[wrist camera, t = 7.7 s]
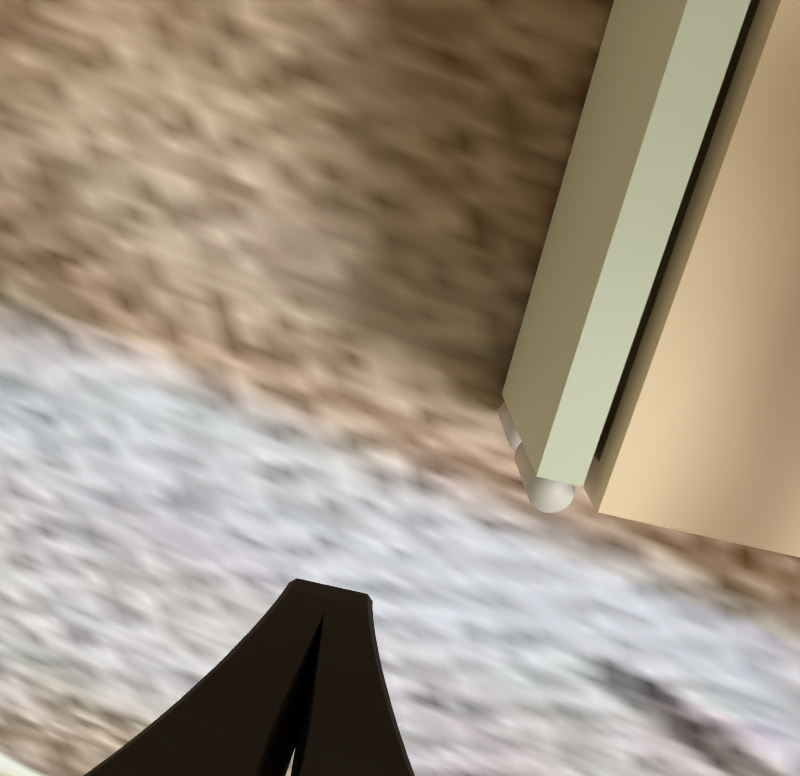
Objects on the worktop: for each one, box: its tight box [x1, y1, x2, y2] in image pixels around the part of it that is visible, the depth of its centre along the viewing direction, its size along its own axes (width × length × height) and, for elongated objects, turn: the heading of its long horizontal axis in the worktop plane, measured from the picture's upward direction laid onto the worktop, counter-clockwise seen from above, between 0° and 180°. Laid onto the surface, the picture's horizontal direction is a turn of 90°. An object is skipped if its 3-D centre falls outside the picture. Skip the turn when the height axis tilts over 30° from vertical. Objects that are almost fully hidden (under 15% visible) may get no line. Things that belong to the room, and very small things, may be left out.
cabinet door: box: [499, 0, 751, 513], centre depth 12 cm, size 2×20×6 cm, turn 167°
